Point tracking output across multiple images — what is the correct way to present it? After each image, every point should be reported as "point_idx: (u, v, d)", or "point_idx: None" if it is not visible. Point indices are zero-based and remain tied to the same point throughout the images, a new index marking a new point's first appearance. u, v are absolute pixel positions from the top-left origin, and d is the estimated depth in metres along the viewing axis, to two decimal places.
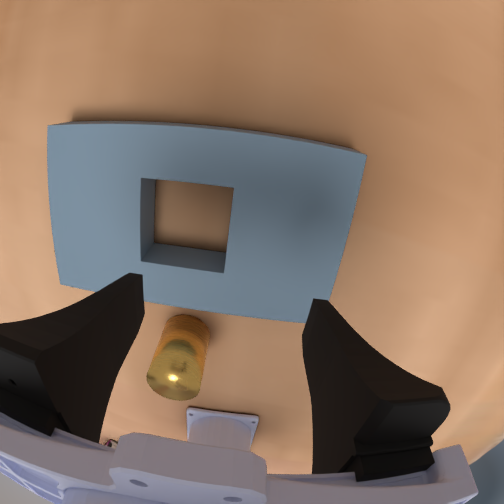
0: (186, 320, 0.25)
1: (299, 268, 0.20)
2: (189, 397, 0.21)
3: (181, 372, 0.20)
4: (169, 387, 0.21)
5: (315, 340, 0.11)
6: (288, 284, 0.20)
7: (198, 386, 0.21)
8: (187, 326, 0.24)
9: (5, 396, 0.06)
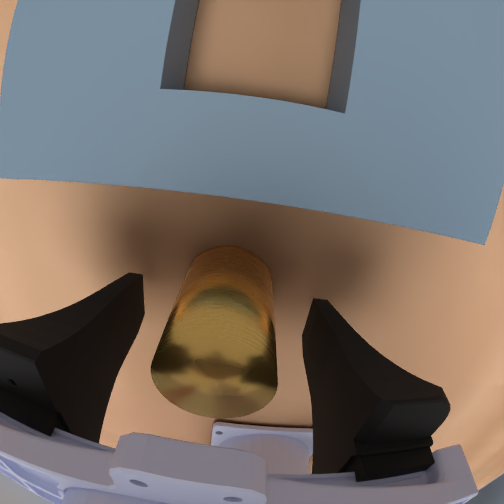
0: (233, 253, 0.13)
1: (469, 123, 0.08)
2: (247, 412, 0.10)
3: (239, 351, 0.08)
4: (202, 390, 0.09)
5: (315, 340, 0.11)
6: (454, 153, 0.09)
7: (275, 385, 0.09)
8: (237, 262, 0.12)
9: (5, 396, 0.06)
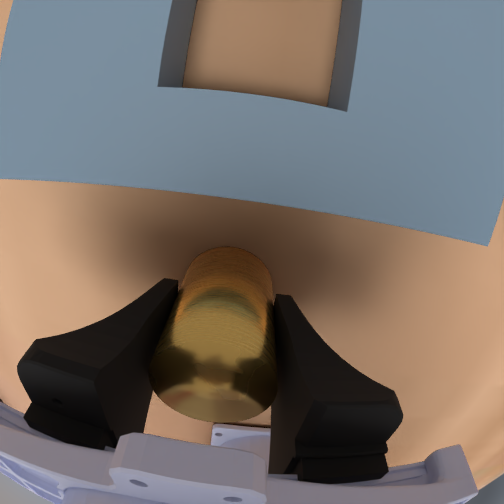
0: (232, 255, 0.13)
1: (472, 122, 0.08)
2: (246, 416, 0.09)
3: (238, 356, 0.08)
4: (201, 395, 0.09)
5: (275, 336, 0.11)
6: (457, 153, 0.08)
7: (275, 389, 0.09)
8: (236, 264, 0.12)
9: (47, 415, 0.06)
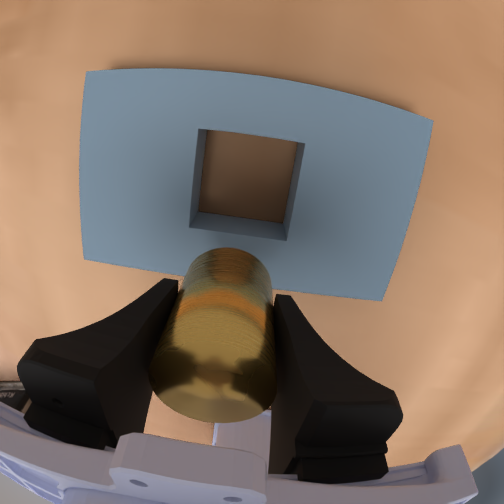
0: (232, 255, 0.13)
1: (367, 236, 0.17)
2: (246, 417, 0.09)
3: (238, 358, 0.08)
4: (201, 396, 0.09)
5: (275, 336, 0.11)
6: (354, 254, 0.18)
7: (274, 390, 0.09)
8: (236, 265, 0.12)
9: (46, 415, 0.06)
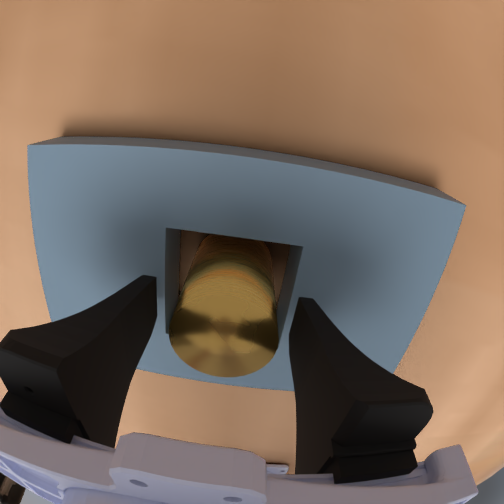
0: None
1: (370, 339, 0.15)
2: (252, 370, 0.12)
3: (246, 309, 0.10)
4: (213, 349, 0.11)
5: (300, 339, 0.11)
6: None
7: (276, 341, 0.11)
8: (241, 241, 0.14)
9: (20, 404, 0.06)
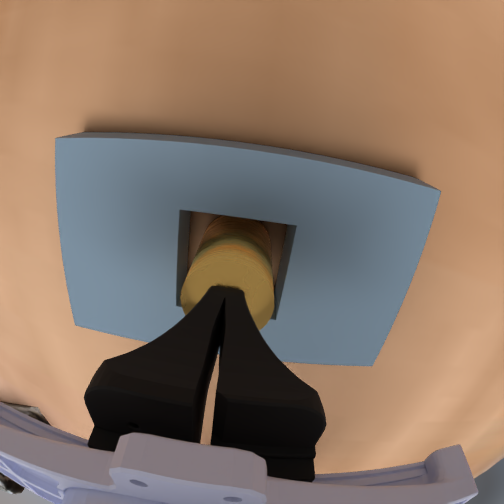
0: (240, 217, 0.17)
1: (359, 312, 0.17)
2: None
3: (246, 274, 0.12)
4: None
5: (222, 330, 0.11)
6: (346, 329, 0.17)
7: (272, 304, 0.13)
8: (243, 223, 0.16)
9: (115, 440, 0.06)
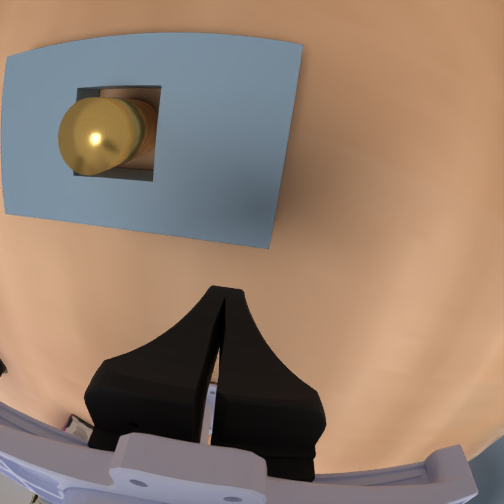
0: None
1: (235, 172, 0.17)
2: (108, 163, 0.14)
3: (100, 105, 0.12)
4: (83, 145, 0.13)
5: (222, 330, 0.11)
6: (225, 193, 0.17)
7: (121, 131, 0.13)
8: (130, 99, 0.16)
9: (115, 440, 0.06)
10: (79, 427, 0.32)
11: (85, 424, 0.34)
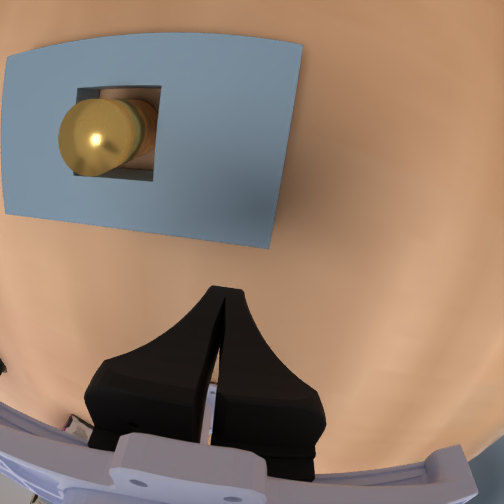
0: (131, 99, 0.17)
1: (235, 172, 0.17)
2: (109, 165, 0.14)
3: (101, 107, 0.12)
4: (83, 147, 0.13)
5: (222, 330, 0.11)
6: (225, 193, 0.17)
7: (122, 132, 0.13)
8: (130, 99, 0.16)
9: (115, 440, 0.06)
10: (79, 427, 0.32)
11: (85, 424, 0.34)
